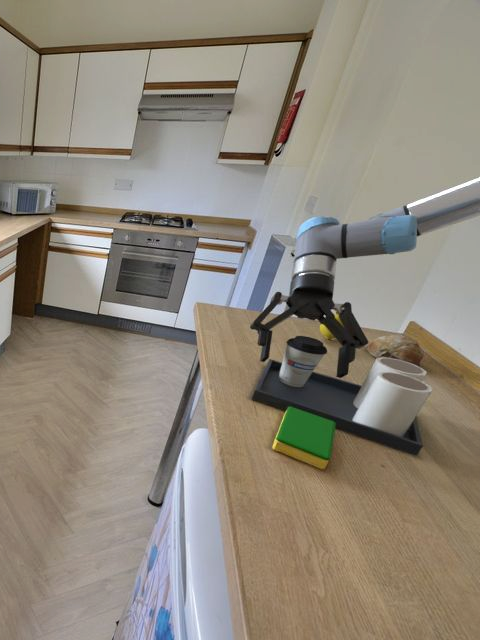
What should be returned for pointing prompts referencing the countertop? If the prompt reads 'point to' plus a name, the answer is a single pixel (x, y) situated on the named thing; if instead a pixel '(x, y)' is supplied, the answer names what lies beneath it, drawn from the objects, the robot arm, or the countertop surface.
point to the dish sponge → (305, 437)
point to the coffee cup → (300, 360)
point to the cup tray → (329, 405)
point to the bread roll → (397, 348)
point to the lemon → (326, 332)
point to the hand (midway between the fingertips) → (302, 367)
